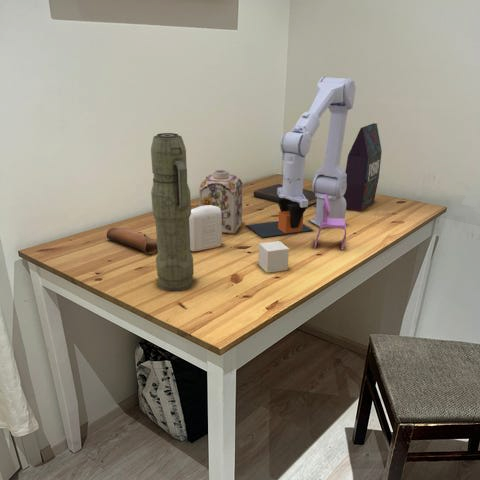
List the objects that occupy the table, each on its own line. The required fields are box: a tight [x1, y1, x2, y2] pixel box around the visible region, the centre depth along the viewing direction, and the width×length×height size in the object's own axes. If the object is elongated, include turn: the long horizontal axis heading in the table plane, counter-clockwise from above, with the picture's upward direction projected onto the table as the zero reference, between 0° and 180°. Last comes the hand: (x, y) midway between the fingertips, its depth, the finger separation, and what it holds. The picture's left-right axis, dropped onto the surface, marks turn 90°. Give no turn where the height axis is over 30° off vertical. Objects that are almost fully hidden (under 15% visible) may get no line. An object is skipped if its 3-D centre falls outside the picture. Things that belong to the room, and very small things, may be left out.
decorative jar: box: [198, 169, 243, 235], centre depth 153 cm, size 12×12×18 cm
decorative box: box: [343, 122, 383, 212], centre depth 175 cm, size 8×16×28 cm, turn 148°
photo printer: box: [189, 205, 223, 252], centre depth 139 cm, size 10×4×12 cm, turn 123°
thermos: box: [150, 132, 195, 292], centre depth 112 cm, size 9×12×35 cm
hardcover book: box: [253, 183, 317, 207], centre depth 188 cm, size 16×23×2 cm
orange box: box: [277, 211, 304, 233], centre depth 141 cm, size 6×5×5 cm
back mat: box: [246, 220, 313, 239], centre depth 157 cm, size 18×12×1 cm, turn 113°
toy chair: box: [314, 194, 347, 251], centre depth 141 cm, size 8×9×15 cm
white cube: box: [257, 240, 290, 274], centre depth 129 cm, size 6×6×6 cm
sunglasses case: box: [106, 227, 158, 255], centre depth 143 cm, size 18×7×7 cm, turn 51°
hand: (290, 224), depth 142 cm, fingers closed on orange box, 4 cm apart
